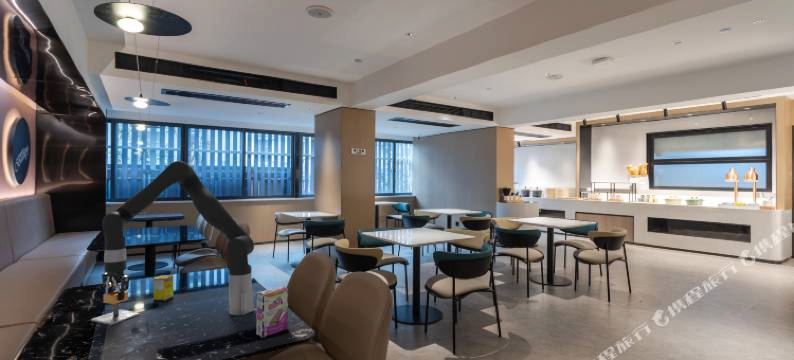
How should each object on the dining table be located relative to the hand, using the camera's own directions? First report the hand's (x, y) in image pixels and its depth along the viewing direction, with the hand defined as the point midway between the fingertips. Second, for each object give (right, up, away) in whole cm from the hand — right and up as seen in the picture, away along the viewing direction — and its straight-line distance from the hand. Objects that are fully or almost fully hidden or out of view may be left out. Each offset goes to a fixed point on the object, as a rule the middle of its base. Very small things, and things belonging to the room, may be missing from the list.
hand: (115, 299), depth 162 cm
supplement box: (+6, -8, +24) cm, 25 cm away
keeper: (0, -8, 0) cm, 8 cm away
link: (0, -1, 0) cm, 1 cm away
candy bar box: (+70, -9, -13) cm, 72 cm away
